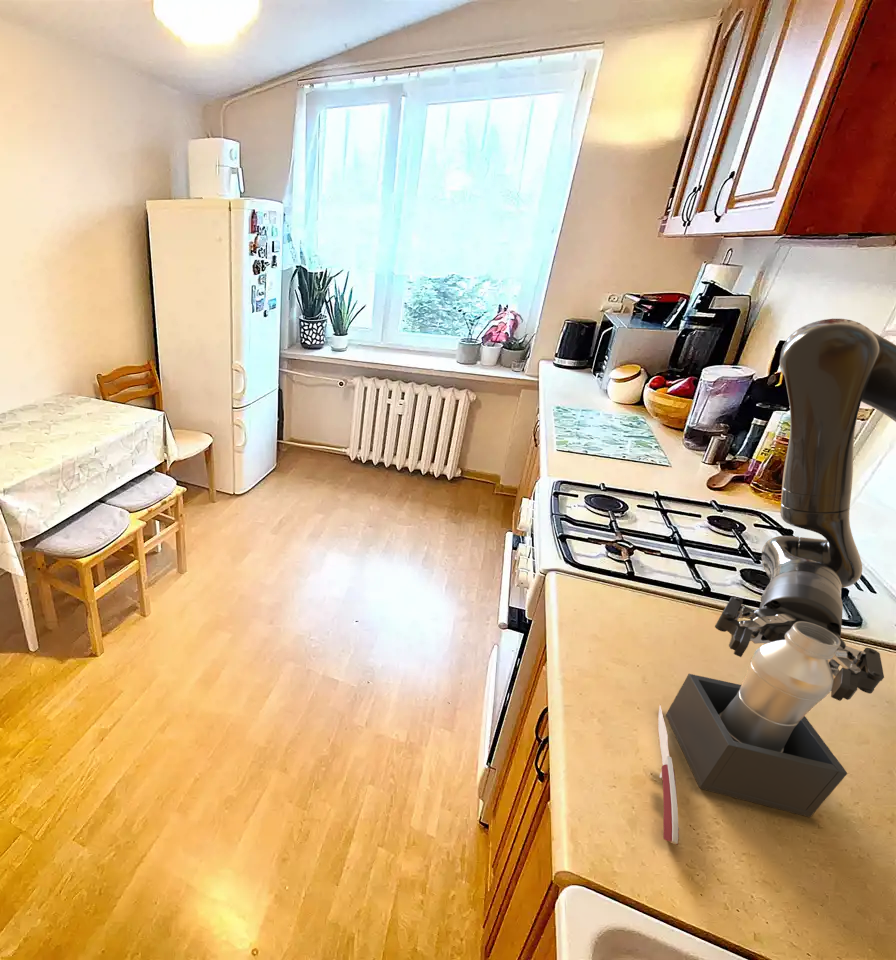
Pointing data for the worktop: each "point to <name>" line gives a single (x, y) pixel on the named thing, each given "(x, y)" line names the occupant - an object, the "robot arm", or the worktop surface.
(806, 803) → the bin
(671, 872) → the worktop surface
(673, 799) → the knife
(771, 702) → the plastic bottle
